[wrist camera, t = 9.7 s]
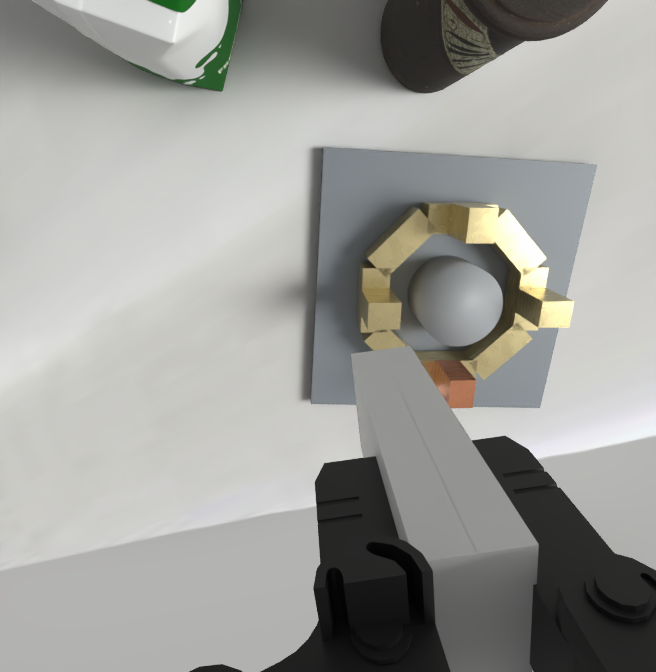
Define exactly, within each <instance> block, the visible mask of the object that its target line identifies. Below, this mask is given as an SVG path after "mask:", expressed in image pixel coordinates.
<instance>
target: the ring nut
mask: <svg viewBox="0 0 656 672" xmlns="http://www.w3.org/2000/svg"><path fill="white" fill-rule="evenodd" d="M432 234H448V236H451V237H453V238H455V239H457V240H459V241H462V242H464V243H489V244H490V245H491V247H492V248H493V249H494V250H495V251H496V253H497V254H498V255H499V256H500V257H501V259H502V260H503V261H504V262H505V263H506V265H507V266H508V267H509V272H508V279H507V286H506V293H505V300H504V307H503V314H502V318H500V319H499V320H498V322H497V324H496V325H495V327H494V328H493V329H492V331H491V332H490V333H489V334H487V335H486V336H485V337H484V338H482V339H481V340H479V341H477V342H475V343H473V344H471V345H469V346H468V347H467V348H466V349H465V350H464V351H414V350H413V349H412V350H413V351H414V353H415V354H416V356H417V357H418V359H419V360H420V362H421V363H422V365H423V367H424V368H425V370H426V371H427V373H428V374H429V376H430V377H431V379H432V380H433V382H434V383H435V385H436V387H437V388H438V390H439V391H440V393H441V394H442V396H443V397H444V399H445V400H446V402H447V404H448V405H449V407H450V408H473V402H474V395H475V387H476V379H475V378H476V372H477V373H478V375H479V376H480V377H481V378H482V379H483V380H485V379H486V378H487V377H488V376H490V375H491V374H492V373H493V372H494V371H496V370H497V369H498V368H499V367H500V366H501V365H503V364H504V363H505V362H506V361H507V360H509V359H510V358H511V357H512V356H513V355H515V354H516V353H517V352H518V351H519V350H520V349H522V348H523V347H524V346H525V345H526V344H528V343H529V342H530V341H531V340H532V338H531V336H530V335H529V334H528V333H527V332H526V331H528V330H538V328H559V327H569V325H570V320H571V315H572V310H573V305H574V301H572V300H570V299H568V298H566V297H564V296H562V295H560V294H558V293H556V292H554V291H552V290H550V289H548V288H545V287H546V282H547V276H548V270H549V268H548V267H546V266H543V265H541V263H542V262H543V261H544V260H545V259H546V257H545V255H544V254H543V253H542V252H541V250H540V249H539V248H538V247H537V245H536V244H535V243H534V242H533V240H532V239H531V238H530V237H529V235H528V234H527V233H526V232H525V230H524V229H523V228H522V227H521V225H520V224H519V223H518V222H517V220H516V219H515V218H514V217H513V215H512V214H511V213H510V212H509V210H508V209H504V208H499V207H498V205H497V204H492V203H483V202H422V204H421V210H420V209H418V208H416V207H413V206H411V207H410V208H409V209H408V210H407V211H406V212H405V213H404V214H403V215H402V216H401V217H400V218H399V219H398V220H397V221H396V222H395V223H394V224H393V225H392V226H391V227H390V228H389V229H388V230H387V231H386V232H385V233H384V234H383V235H382V236H381V237H380V238H379V239H378V240H376V241H375V242H374V243H373V244H372V245H371V246H370V247H369V248H368V249H367V250H366V251H365V252H364V255H365V256H366V257H367V259H368V260H369V261H370V262H371V263H359V281H358V310H357V325H358V327H359V330H360V332H361V335H362V337H363V340H364V342H365V343H366V344H367V345H368V346H369V347H370V348H371V349H372V350H374V351H376V350H383V349H390V348H398V347H405V346H409V345H408V344H407V343H406V342H405V341H404V340H403V339H402V338H401V337H400V336H399V335H398V334H397V333H396V332H395V331H394V329H400V322H401V307H402V302H401V301H400V300H399V299H398V297H397V296H396V295H395V294H394V292H393V291H392V290H391V289H390V274H391V273H392V272H393V271H394V270H395V269H396V268H397V267H399V266H400V265H401V264H402V263H403V262H404V261H405V260H406V259H407V258H408V257H409V256H410V255H411V254H412V253H413V252H414V251H415V250H416V249H418V248H419V247H420V246H421V245H422V244H423V243H424V242H425V241H426V240H427V239H428V238H429V237H430V236H431V235H432Z"/></svg>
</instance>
